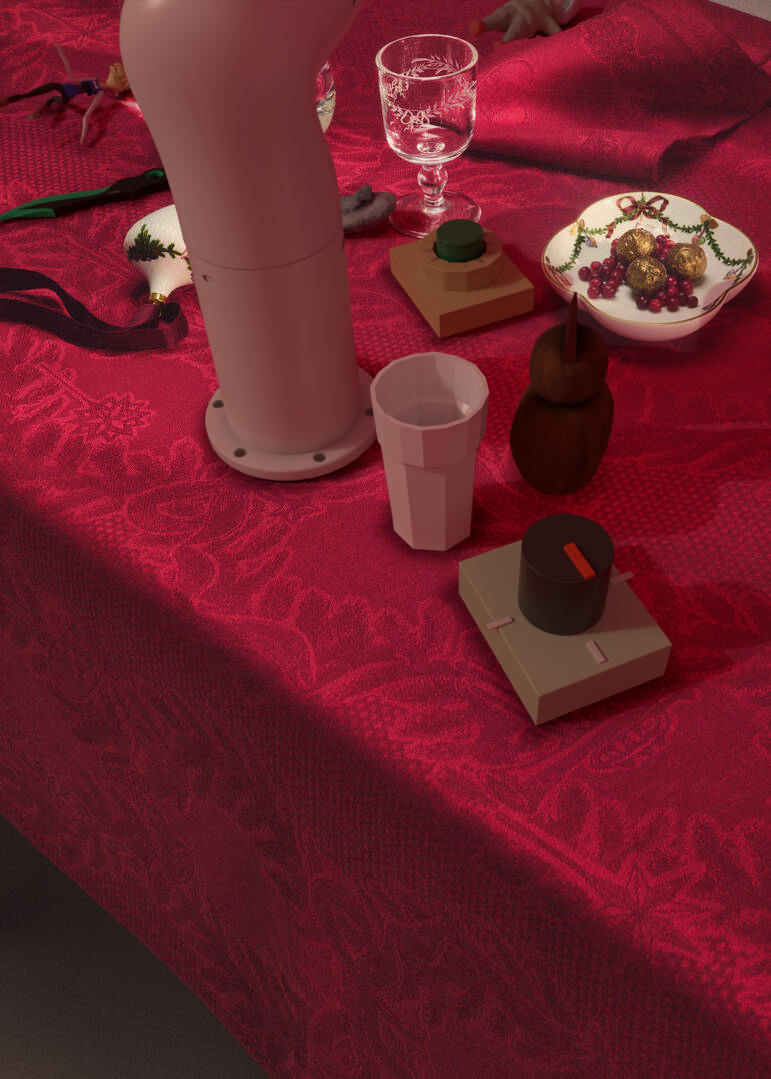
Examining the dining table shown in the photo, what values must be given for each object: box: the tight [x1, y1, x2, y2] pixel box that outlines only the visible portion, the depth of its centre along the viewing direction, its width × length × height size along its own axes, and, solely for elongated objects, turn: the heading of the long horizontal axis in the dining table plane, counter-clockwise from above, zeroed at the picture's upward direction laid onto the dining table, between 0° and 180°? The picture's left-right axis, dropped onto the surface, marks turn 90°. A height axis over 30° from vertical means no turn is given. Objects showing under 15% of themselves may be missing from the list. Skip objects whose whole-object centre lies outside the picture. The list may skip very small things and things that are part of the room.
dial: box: [518, 513, 615, 635], centre depth 54 cm, size 5×5×5 cm
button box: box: [389, 227, 536, 339], centre depth 79 cm, size 10×8×4 cm
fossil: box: [339, 184, 398, 235], centre depth 86 cm, size 8×4×5 cm
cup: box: [370, 351, 490, 552], centre depth 60 cm, size 7×7×11 cm
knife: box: [0, 167, 170, 222], centre depth 94 cm, size 23×1×5 cm
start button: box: [436, 218, 484, 263], centre depth 77 cm, size 4×4×2 cm
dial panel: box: [458, 539, 673, 726], centre depth 57 cm, size 10×9×3 cm
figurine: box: [0, 39, 131, 146], centre depth 101 cm, size 10×9×20 cm
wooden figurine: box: [509, 291, 615, 496], centre depth 60 cm, size 7×6×15 cm
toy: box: [468, 0, 583, 51], centre depth 109 cm, size 11×5×15 cm
